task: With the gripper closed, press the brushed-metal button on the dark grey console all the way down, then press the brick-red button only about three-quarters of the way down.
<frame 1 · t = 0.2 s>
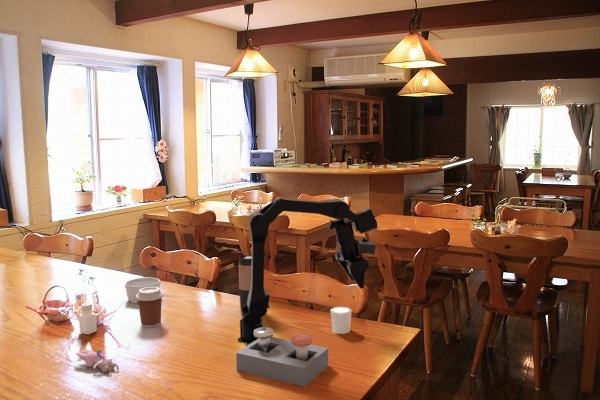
hand: (357, 284, 175), 15 cm above the table, tool pointing down, fingers open, 9 cm apart
ramekin: (143, 299, 213), on the table
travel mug: (250, 311, 197), on the table
console: (282, 367, 151), on the table
pepper shaker: (88, 333, 179), on the table
red button: (301, 348, 147), point 7 cm above the table, slide at 0.0 cm
rabbit figure: (96, 368, 153), on the table
coffee cup: (151, 324, 186), on the table
metal button: (263, 340, 152), point 7 cm above the table, slide at 0.0 cm
white cup: (341, 331, 177), on the table
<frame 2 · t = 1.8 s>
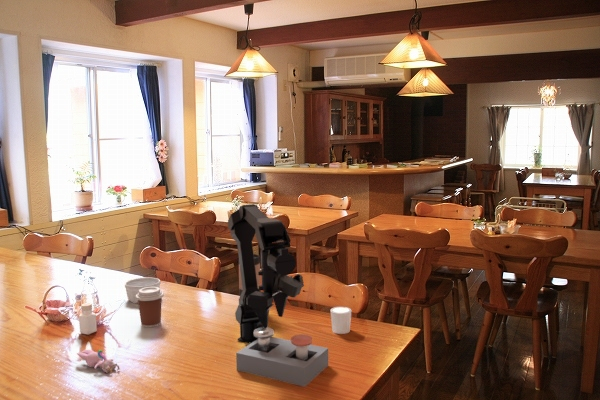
hand: (273, 321, 151), 12 cm above the table, tool pointing down, fingers open, 9 cm apart
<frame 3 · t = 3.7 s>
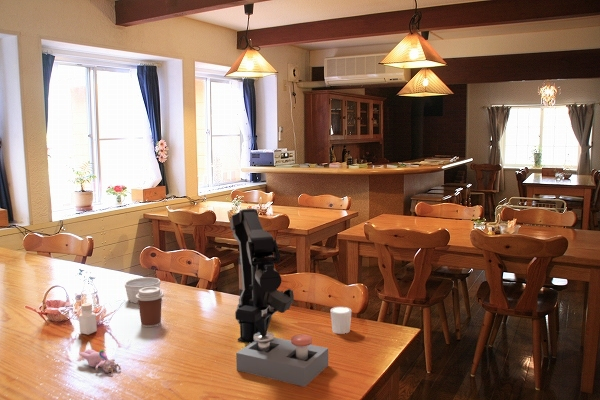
hand: (263, 335, 152), 8 cm above the table, tool pointing down, fingers closed, pressing on metal button
metal button: (264, 345, 153), point 5 cm above the table, slide at 1.3 cm, touching gripper
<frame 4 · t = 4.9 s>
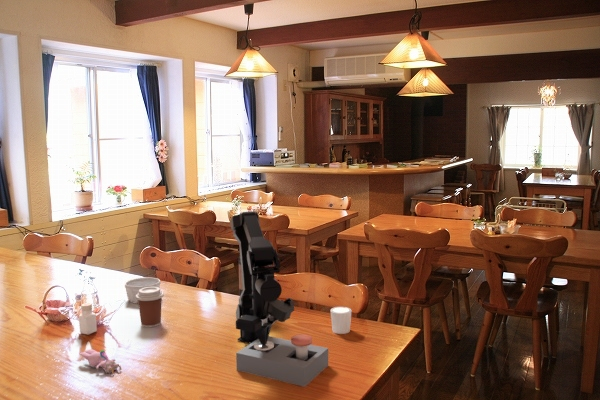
hand: (263, 344, 153), 6 cm above the table, tool pointing down, fingers closed
metal button: (264, 354, 153), point 3 cm above the table, slide at 4.0 cm
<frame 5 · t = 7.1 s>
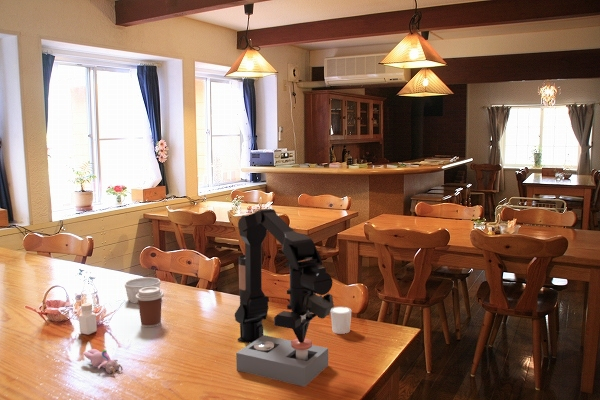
hand: (301, 342, 147), 9 cm above the table, tool pointing down, fingers closed, pressing on red button
red button: (301, 351, 147), point 6 cm above the table, slide at 1.0 cm, touching gripper
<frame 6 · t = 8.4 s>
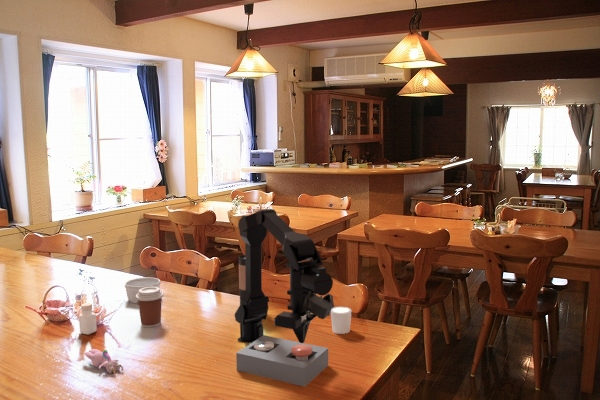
hand: (301, 342, 146), 8 cm above the table, tool pointing down, fingers closed
red button: (301, 358, 147), point 4 cm above the table, slide at 2.9 cm
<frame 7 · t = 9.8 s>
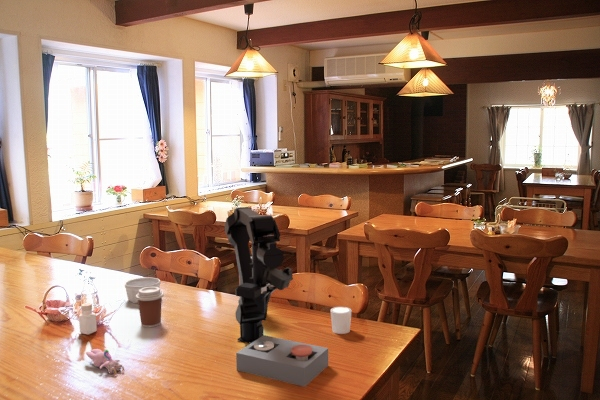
hand: (263, 312, 157), 13 cm above the table, tool pointing down, fingers closed
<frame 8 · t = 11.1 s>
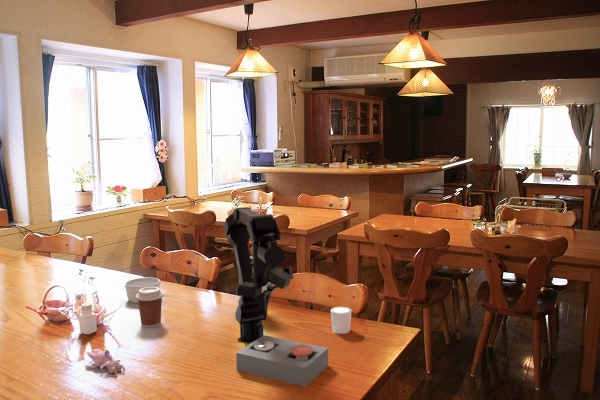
hand: (263, 311, 157), 13 cm above the table, tool pointing down, fingers closed
at the end: metal button slide at 4.0 cm; red button slide at 2.9 cm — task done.
